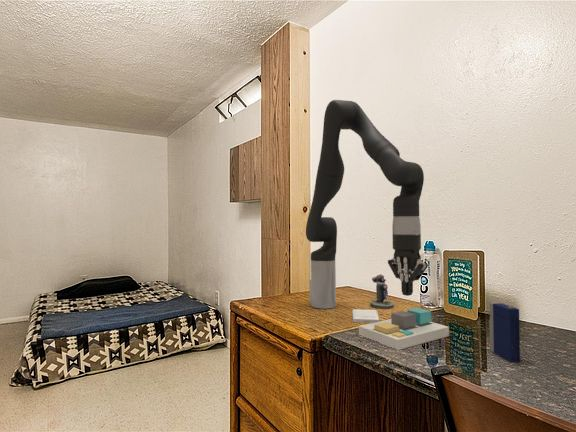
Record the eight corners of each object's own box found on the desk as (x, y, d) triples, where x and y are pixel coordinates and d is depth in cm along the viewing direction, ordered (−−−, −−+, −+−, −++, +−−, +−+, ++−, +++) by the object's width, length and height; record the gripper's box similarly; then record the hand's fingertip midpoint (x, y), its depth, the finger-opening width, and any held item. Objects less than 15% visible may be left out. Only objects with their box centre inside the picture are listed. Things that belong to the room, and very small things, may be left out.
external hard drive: (376, 314, 125) (379, 324, 112) (352, 313, 126) (352, 323, 114) (376, 309, 125) (379, 319, 112) (352, 309, 126) (352, 318, 114)
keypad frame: (358, 335, 100) (358, 324, 100) (408, 323, 111) (407, 314, 111) (398, 350, 88) (397, 337, 88) (449, 336, 99) (448, 325, 99)
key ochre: (374, 335, 97) (374, 324, 97) (386, 333, 99) (386, 322, 99) (387, 340, 93) (386, 328, 93) (399, 337, 95) (399, 326, 96)
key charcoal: (391, 323, 100) (391, 313, 100) (402, 321, 103) (402, 310, 103) (404, 327, 97) (404, 316, 97) (415, 325, 99) (415, 314, 99)
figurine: (371, 308, 130) (371, 275, 131) (369, 303, 139) (368, 272, 139) (395, 309, 130) (395, 275, 130) (391, 303, 138) (391, 272, 138)
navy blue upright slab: (520, 362, 80) (519, 307, 80) (510, 362, 80) (509, 308, 80) (498, 350, 88) (497, 300, 88) (489, 350, 87) (488, 301, 88)
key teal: (407, 320, 104) (407, 309, 104) (417, 318, 106) (417, 307, 106) (420, 324, 100) (420, 313, 100) (431, 321, 102) (430, 311, 102)
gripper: (379, 232, 105) (380, 292, 105) (415, 233, 93) (416, 301, 93) (398, 232, 109) (399, 289, 108) (435, 233, 97) (436, 297, 97)
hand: (407, 295), depth 101 cm, fingers closed
